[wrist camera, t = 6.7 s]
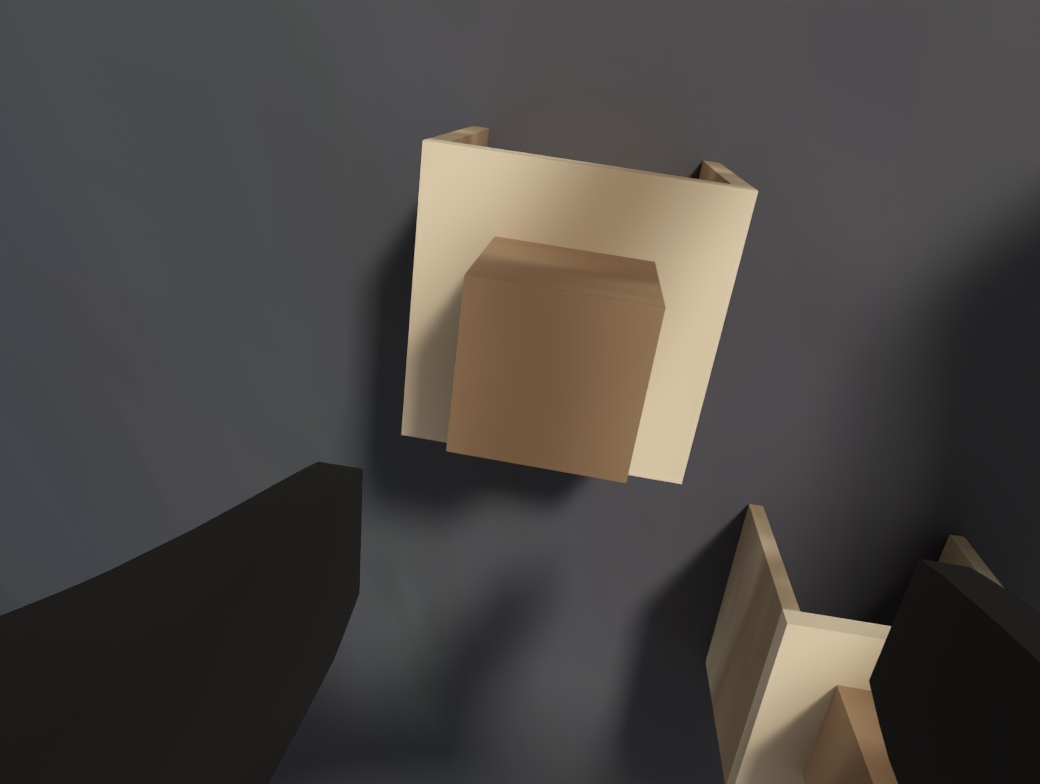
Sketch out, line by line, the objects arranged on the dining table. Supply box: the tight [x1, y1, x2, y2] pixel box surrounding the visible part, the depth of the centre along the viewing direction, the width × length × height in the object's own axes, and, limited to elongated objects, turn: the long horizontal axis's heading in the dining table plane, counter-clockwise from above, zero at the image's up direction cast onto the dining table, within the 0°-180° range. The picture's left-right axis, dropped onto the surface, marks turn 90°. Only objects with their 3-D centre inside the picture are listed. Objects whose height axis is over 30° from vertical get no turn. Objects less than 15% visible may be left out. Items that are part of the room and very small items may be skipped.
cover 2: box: [706, 504, 1004, 784], centre depth 18 cm, size 6×6×8 cm
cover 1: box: [401, 126, 758, 484], centre depth 15 cm, size 6×6×8 cm
